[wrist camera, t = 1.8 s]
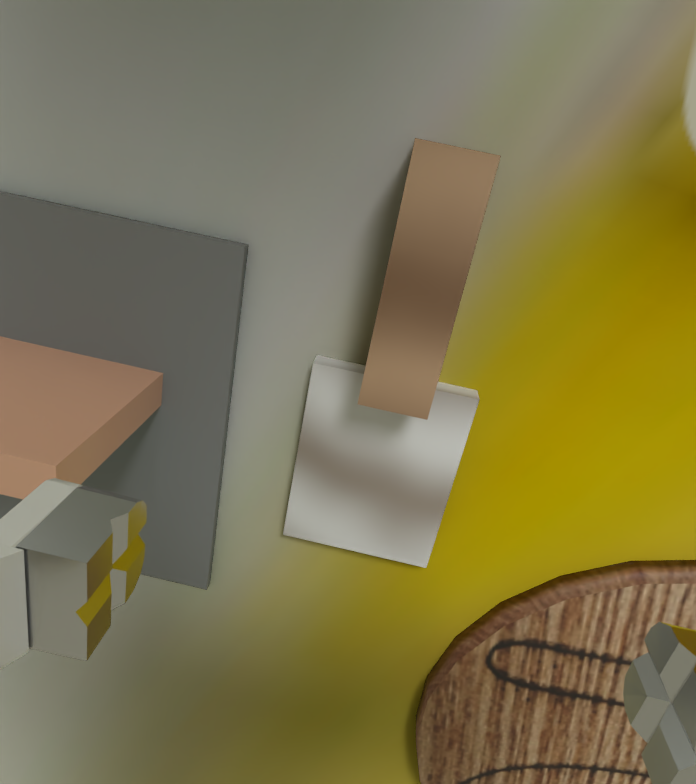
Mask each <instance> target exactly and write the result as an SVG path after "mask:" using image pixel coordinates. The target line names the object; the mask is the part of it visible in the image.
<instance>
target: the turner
mask: <svg viewBox="0 0 696 784" xmlns="http://www.w3.org/2000/svg"><path fill="white" fill-rule="evenodd" d="M500 157H501V156H499V155H494V154H489V153H485V152H480V151H475V150H470V149H465V148H460V147H456V146H451V145H446V144H441V143H436V142H432V141H427V140H422V139H417V138H415V141H414V146H413V150H412V155H411V160H410V164H409V169H408V173H407V178H406V183H405V187H404V192H403V196H402V201H401V206H400V210H399V215H398V220H397V224H396V229H395V233H394V238H393V243H392V247H391V252H390V256H389V261H388V266H387V270H386V275H385V279H384V284H383V289H382V293H381V298H380V302H379V307H378V312H377V316H376V321H375V325H374V330H373V335H372V339H371V344H370V348H369V353H368V358H367V362H366V366H365V365H361V364H356V363H352V362H347V361H343V360H338V359H334V358H329V357H325V356H320V355H317V356H316V358H315V360H314V362H313V366H312V371H311V377H310V383H309V389H308V394H307V400H306V406H305V411H304V417H303V423H302V429H301V434H300V440H299V446H298V451H297V457H296V463H295V468H294V474H293V480H292V486H291V491H290V497H289V503H288V508H287V514H286V520H285V526H284V531H283V535H287V536H291V537H295V538H300V539H304V540H308V541H312V542H317V543H321V544H325V545H330V546H334V547H338V548H343V549H347V550H351V551H355V552H360V553H364V554H368V555H373V556H377V557H381V558H385V559H390V560H394V561H398V562H403V563H407V564H411V565H415V566H420V567H424V568H426V567H427V564H428V561H429V558H430V554H431V551H432V548H433V545H434V542H435V539H436V535H437V532H438V529H439V526H440V523H441V520H442V516H443V513H444V510H445V507H446V504H447V501H448V497H449V494H450V491H451V488H452V485H453V482H454V478H455V475H456V472H457V469H458V466H459V463H460V459H461V456H462V453H463V450H464V447H465V444H466V440H467V437H468V434H469V431H470V428H471V425H472V421H473V418H474V415H475V412H476V409H477V406H478V402H479V396H478V391H477V390H473V389H469V388H464V387H460V386H455V385H451V384H446V383H442V382H438V380H439V376H440V373H441V369H442V365H443V362H444V358H445V355H446V351H447V347H448V344H449V340H450V337H451V333H452V329H453V326H454V322H455V319H456V315H457V311H458V308H459V304H460V301H461V297H462V294H463V290H464V286H465V283H466V279H467V276H468V272H469V268H470V265H471V261H472V258H473V254H474V250H475V247H476V243H477V240H478V236H479V232H480V229H481V225H482V222H483V218H484V214H485V211H486V207H487V204H488V200H489V196H490V193H491V189H492V186H493V182H494V178H495V175H496V171H497V168H498V164H499V160H500Z"/></svg>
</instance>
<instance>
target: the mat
mask: <svg viewBox="0 0 696 784" xmlns="http://www.w3.org/2000/svg"><path fill="white" fill-rule="evenodd" d="M247 252H248V245H247V244H242V243H238V242H233V241H228V240H224V239H219V238H214V237H210V236H205V235H201V234H196V233H191V232H187V231H182V230H177V229H173V228H168V227H164V226H159V225H154V224H150V223H145V222H140V221H136V220H131V219H126V218H122V217H117V216H113V215H108V214H103V213H99V212H94V211H89V210H85V209H80V208H76V207H71V206H66V205H62V204H57V203H52V202H48V201H43V200H38V199H34V198H29V197H25V196H20V195H15V194H11V193H6V192H1V191H0V336H1V337H5V338H10V339H14V340H19V341H23V342H28V343H32V344H37V345H41V346H45V347H50V348H54V349H59V350H63V351H68V352H72V353H77V354H81V355H85V356H90V357H94V358H99V359H103V360H108V361H112V362H116V363H121V364H125V365H130V366H134V367H139V368H143V369H148V370H152V371H156V372H161V373H163V385H162V402H161V406H160V407H159V408H158V409H157V410H156V411H155V412H154V413H153V414H152V415H151V416H150V417H149V418H148V419H147V420H146V421H145V422H144V423H143V424H142V425H141V426H140V427H139V428H138V429H137V430H136V431H134V432H133V433H132V434H131V435H130V436H129V437H128V438H127V439H126V440H125V441H124V442H123V443H122V444H121V445H120V446H119V447H118V448H117V449H116V450H115V451H114V452H113V453H112V454H111V455H110V456H109V457H108V458H107V459H106V460H105V461H104V462H103V463H102V464H101V465H100V466H99V467H98V468H97V469H96V470H95V471H94V472H93V473H92V474H91V475H90V476H89V477H88V478H87V479H86V480H85V481H84V482H83V483H82V484H81V485H82V486H84V485H86V486H89V487H93V488H97V489H101V490H105V491H109V492H113V493H117V494H120V495H124V496H128V497H132V498H136V499H140V500H143V501H144V502H145V504H146V505H147V521H146V524H145V525H144V526H143V528H142V529H141V531H140V532H139V533H138V534H139V536H140V537H141V539H142V541H143V542H144V544H145V556H144V561H143V566H142V570H141V573H140V574H143V575H147V576H151V577H155V578H160V579H164V580H168V581H172V582H176V583H181V584H185V585H189V586H193V587H197V588H202V589H206V590H207V588H208V586H209V584H210V578H211V569H212V560H213V551H214V543H215V534H216V525H217V516H218V507H219V499H220V490H221V481H222V472H223V463H224V455H225V446H226V437H227V428H228V419H229V411H230V402H231V393H232V384H233V375H234V366H235V358H236V349H237V340H238V331H239V322H240V314H241V305H242V296H243V287H244V278H245V270H246V261H247ZM22 500H23V499H19V498H15V497H10V496H6V495H2V494H0V519H1V518H2V517H3V516H4V515H6V514H7V513H8V512H9V511H10V510H11V509H13V508H14V507H15V506H16V505H17V504H18V503H20V502H21V501H22Z"/></svg>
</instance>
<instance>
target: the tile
mask: <svg viewBox="0 0 696 784" xmlns="http://www.w3.org/2000/svg"><path fill="white" fill-rule="evenodd" d="M162 385H163V373H161V372H156V371H152V370H148V369H143V368H139V367H134V366H130V365H125V364H121V363H116V362H112V361H108V360H103V359H99V358H94V357H90V356H85V355H81V354H77V353H72V352H68V351H63V350H59V349H54V348H50V347H45V346H41V345H37V344H32V343H28V342H23V341H19V340H14V339H10V338H5V337H1V336H0V494H2V495H6V496H10V497H15V498H19V499H24V498H25V497H27V496H28V495H29V494H30V493H31V492H32V491H34V490H35V489H36V488H37V487H38V486H39V485H41V484H42V483H43V482H44V481H46V480H49V479H53V478H56V479H60V480H64V481H68V482H72V483H76V484H80V485H81V484H82V483H83V482H84V481H85V480H86V479H87V478H88V477H89V476H90V475H91V474H92V473H93V472H94V471H95V470H96V469H97V468H98V467H99V466H100V465H101V464H102V463H103V462H104V461H105V460H106V459H107V458H108V457H109V456H110V455H111V454H112V453H113V452H114V451H115V450H116V449H117V448H118V447H119V446H120V445H121V444H122V443H123V442H124V441H125V440H126V439H127V438H128V437H129V436H130V435H131V434H132V433H133V432H134V431H136V430H137V429H138V428H139V427H140V426H141V425H142V424H143V423H144V422H145V421H146V420H147V419H148V418H149V417H150V416H151V415H152V414H153V413H154V412H155V411H156V410H157V409H158V408H159V407H160V406H161V402H162Z"/></svg>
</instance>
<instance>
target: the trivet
mask: <svg viewBox="0 0 696 784" xmlns="http://www.w3.org/2000/svg"><path fill="white" fill-rule="evenodd" d="M658 622H663V623H667V624H672V625H676V626H681V627H685V628H689V629H694V630H696V560H664V561H628V562H624V563H619V564H614V565H609V566H605V567H600V568H595V569H590V570H586V571H581V572H576V573H571V574H567V575H562V576H559V577H557V578H554V579H552V580H550V581H547V582H545V583H543V584H541V585H538V586H536V587H534V588H532V589H529V590H527V591H525V592H523V593H520V594H518V595H516V596H513V597H511V598H509V599H507V600H504V601H502V602H500V603H499V604H498V605H496V606H495V607H494V608H492V609H491V610H490V611H488V612H487V613H486V614H485V615H483V616H482V617H481V618H479V619H478V620H477V621H475V622H474V623H473V624H471V625H470V626H469V627H468V628H466V629H465V630H464V631H462V632H461V633H460V634H458V635H457V636H456V637H455V638H454V640H453V641H452V642H451V644H450V645H449V647H448V648H447V649H446V651H445V652H444V653H443V655H442V656H441V658H440V659H439V660H438V662H437V663H436V664H435V666H434V667H433V669H432V670H431V671H430V673H429V674H428V676H427V679H426V683H425V686H424V690H423V693H422V697H421V700H420V703H419V707H418V710H417V714H416V748H417V758H418V767H419V777H420V782H421V784H652V782H651V779H650V777H649V774H648V771H647V769H646V766H645V763H644V761H643V758H642V755H641V754H642V751H643V749H644V747H645V744H646V741H645V740H644V739H643V738H642V737H641V736H640V735H639V734H638V733H637V732H636V731H635V730H634V729H633V727H632V726H631V725H630V722H629V719H628V716H627V714H626V711H625V706H624V698H623V689H624V680H625V675H626V673H627V671H628V669H629V667H630V665H631V663H632V661H633V660H634V659H636V658H638V657H640V656H642V655H644V654H646V653H648V650H647V647H646V644H645V641H644V639H645V637H646V635H647V634H648V632H649V630H650V628H651V627H652V626H654V625H655V624H657V623H658Z"/></svg>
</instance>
